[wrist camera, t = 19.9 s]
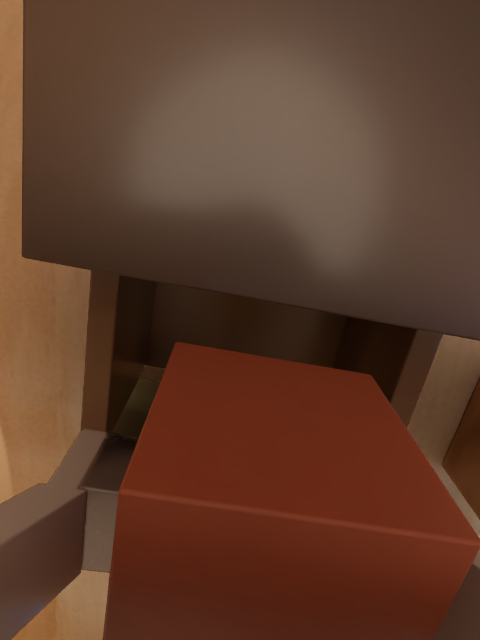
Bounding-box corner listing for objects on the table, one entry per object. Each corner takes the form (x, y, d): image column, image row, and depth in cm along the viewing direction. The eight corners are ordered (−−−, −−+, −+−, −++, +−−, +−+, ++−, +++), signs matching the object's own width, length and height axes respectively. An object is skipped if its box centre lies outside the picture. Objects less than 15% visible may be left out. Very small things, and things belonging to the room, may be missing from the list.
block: (322, 523, 11) (376, 752, 6) (152, 498, 10) (93, 721, 6) (371, 374, 9) (485, 544, 5) (175, 340, 9) (117, 490, 5)
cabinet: (391, 270, 19) (515, 348, 10) (124, 219, 18) (20, 258, 10) (520, -132, 14) (951, -606, 6) (163, -224, 13) (26, -935, 5)
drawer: (313, 502, 22) (345, 645, 16) (108, 470, 22) (47, 606, 15) (423, 154, 16) (554, 139, 10) (144, 96, 16) (70, 34, 9)
